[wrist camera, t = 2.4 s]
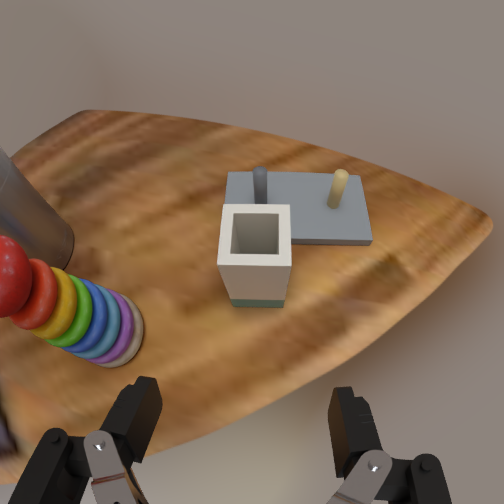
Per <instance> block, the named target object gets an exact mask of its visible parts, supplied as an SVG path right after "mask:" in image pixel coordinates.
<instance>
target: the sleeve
mask: <svg viewBox="0 0 504 504" xmlns="http://www.w3.org/2000/svg"><path fill="white" fill-rule="evenodd" d="M217 266H218V269H219V271H220V274H221V276H222V279H223V282H224V284H225V287H226V289H227V292H228V294H229V297H230V300H231V302H232V305H233V306H234V307H274V308H283V306H284V301H285V296H286V291H287V286H288V281H289V276H290V271H291V226H290V205H284V204H223V212H222V221H221V230H220V240H219V250H218V260H217Z"/></svg>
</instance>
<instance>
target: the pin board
mask: <svg viewBox="0 0 504 504" xmlns="http://www.w3.org/2000/svg"><path fill="white" fill-rule="evenodd" d="M225 204H284V205H290V226H291V244H322V245H370V244H371V242H372V241H373V239H372V233H371V227H370V222H369V216H368V211H367V206H366V201H365V197H364V192H363V188H362V183H361V179H360V176H357V175H349V174H348V173H347V171H345V170H343V169H338V170H336V171H335V174H325V173H301V172H267V169H266V168H264V167H261V166H259V167H256V168H254V169H253V172H228V179H227V187H226V196H225Z"/></svg>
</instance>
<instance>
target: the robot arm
mask: <svg viewBox="0 0 504 504" xmlns="http://www.w3.org/2000/svg"><path fill="white" fill-rule="evenodd" d="M0 235H4V236H7V237H9V238H11V239H13V240H15V241H16V242H17V243H18V244H19V245H20V246H21V247H22V248H23V250H24V251H25V253H26V255H27V257H28V259H39V260H42V261H44V262H45V263H47V264H48V265H49V266H50V267H55V268H59V269H61V270H63V269H64V267H65V266H66V264H67V262H68V261H69V259H70V256H71V253H72V250H73V244H74V237H73V232H72V230H71V228H70V227H69V225H68V224H67V223H66V222H65V221H64V220H63V219H62V218H61V217H60V216H59V215H58V214H57V213H56V212H55V210H54V209H53V208H52V207H51V206H50V205H49V204H48V203H47V202H46V201H45V200H44V198H43V197H42V196H41V195H40V194H39V193H38V192H37V191H36V189H35V188H34V187H33V186H32V185H31V184H30V182H29V181H28V180H27V179H26V178H25V177H24V175H23V174H22V173H21V172H20V171H19V169H18V168H17V167H16V166H15V164H14V163H13V162H12V161H11V159H10V158H9V157H8V156H7V155H6V153H5V152H4V151H3V149H2V148H1V147H0ZM161 411H162V398H161V394H160V391H159V387H158V384H157V380H156V379H155V378H151V377H145V376H139V377H138V378H137V380H136V382H135V384H134V385H130V384H129V385H127V386H126V387H125V388H124V389H123V390H121V392H120V393H119V395H118V397H117V400H116V401H115V402H114V404H113V406H112V408H111V409H110V411H109V413H108V415H107V417H106V419H105V420H104V422H103V424H102V426H101V428H100V429H99V430H97V431H93V432H91V433H89V434H88V435H87V436H86V437H76V436H68V435H67V433H66V432H65V431H64V430H63V429H60V428H52V429H49V430H47V431H46V432H45V433H44V435H43V437H42V438H41V440H40V442H39V444H38V445H37V447H36V449H35V451H34V453H33V455H32V456H31V458H30V460H29V462H28V464H27V466H26V468H25V470H24V472H23V473H22V475H21V477H20V479H19V481H18V483H17V486H16V488H15V490H14V492H13V494H12V496H11V498H10V500H9V502H8V504H80V501H81V499H82V496H83V493H84V491H85V488H86V485H87V483H88V480H89V478H90V477H93V482H91V486H92V490H93V493H94V496H95V499H96V502H97V504H149V503H148V502H147V500H146V499H145V497H144V495H143V492H142V490H141V488H140V486H139V484H138V482H137V480H136V477H135V475H134V473H133V470H132V468H131V466H132V463H133V461H134V462H138V463H142V460H143V457H144V455H145V452H146V450H147V447H148V444H149V442H150V439H151V437H152V434H153V431H154V429H155V426H156V424H157V421H158V419H159V416H160V413H161ZM328 423H329V429H330V436H331V442H332V448H333V456H334V463H335V470H336V477H337V478H341V477H344V482H343V484H342V485H341V486H340V488H339V489H338V490H337V492H336V493H335V494H334V495H333V496H332V497H331V499H330V500H329V501H328V502H327V504H371V502H372V501H373V500H386V501H388V504H452V502H451V498H450V495H449V491H448V487H447V483H446V480H445V477H444V473H443V470H442V467H441V463H440V461H439V460H438V458H437V457H435V456H434V455H432V454H421V455H419V456H417V457H416V458H415V459H414V460H401V459H394V458H392V457H390V456H389V455H388V454H387V453H386V452H384V451H383V449H382V447H381V443H380V439H379V436H378V433H377V429H376V426H375V423H374V419H373V416H372V413H371V410H370V407H369V404H368V403H367V402H366V401H365V400H364V398H363V397H354V393H353V390H352V387H336V388H334V390H333V393H332V397H331V401H330V405H329V409H328Z"/></svg>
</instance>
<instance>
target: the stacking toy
mask: <svg viewBox="0 0 504 504" xmlns="http://www.w3.org/2000/svg"><path fill="white" fill-rule="evenodd" d="M8 316H9V317H10V319H11V320H12V322H13V323H14V324H15V325H17V326H18V327H20V328H22V329H26V330H30V331H31V332H32V333H33V334H34V335H36V336H37V337H39V338H41V339H44V340H46V341H47V342H48V343H49V344H51V345H53V346H56V347H60V348H62V349H64V350H65V351H68V352H71V353H72V354H74V355H75V356H77V357H80V358H84V359H85V360H87V361H89V362H92V363H95V364H97V365H99V366H102V367H108V368H112V367H118V366H121V365H123V364H125V363H127V362H128V361H129V360H130V359H132V358H133V356H134V355H135V354H136V352H137V351H138V349H139V347H140V344H141V341H142V337H143V320H142V317H141V314H140V312H139V310H138V308H137V306H136V305H135V304H134V303H133V302H132V301H131V300H130V299H129V298H128V297H126V296H124V295H122V294H119V293H117V292H115V291H113V290H110V289H106V288H104V287H102V286H100V285H97V284H93V283H92V282H90V281H88V280H85V279H78V278H77V277H75V276H73V275H69V274H67V273H65V272H64V271H63V270H61V269H59V268H55V267H50V266H49V265H48V264H47V263H45V262H44V261H42V260H39V259H28V257H27V255H26V253H25V251H24V250H23V248H22V247H21V246H20V245H19V244H18V243H17V242H16V241H15V240H13V239H11V238H9V237H7V236H4V235H0V318H2V317H8Z"/></svg>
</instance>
